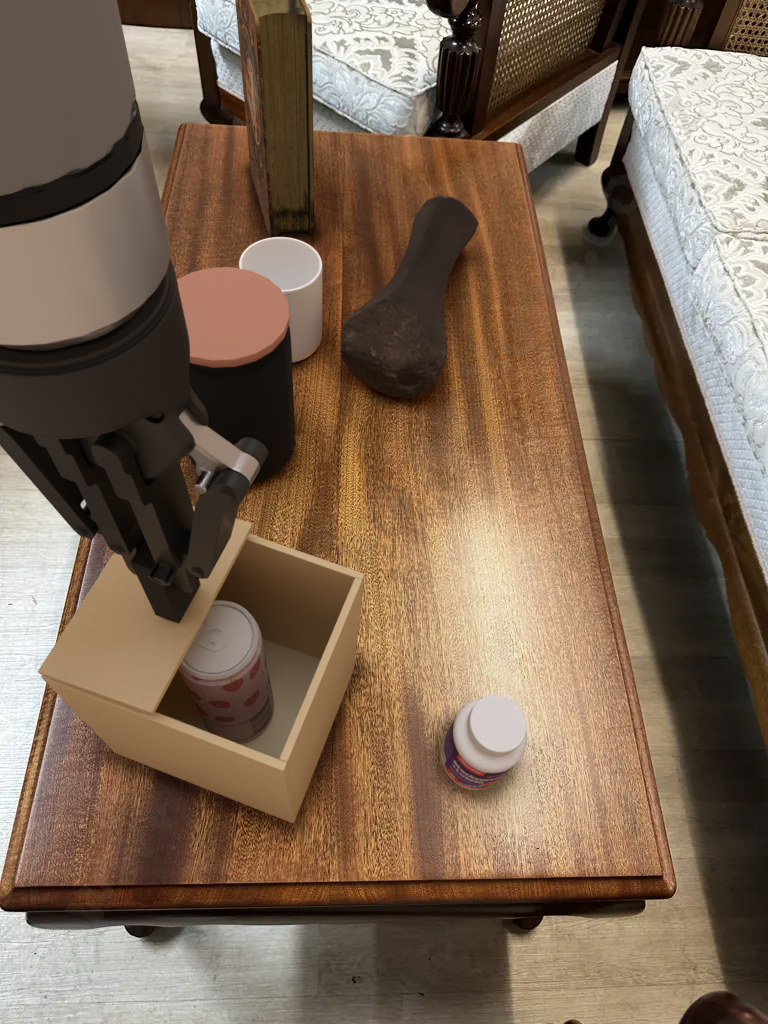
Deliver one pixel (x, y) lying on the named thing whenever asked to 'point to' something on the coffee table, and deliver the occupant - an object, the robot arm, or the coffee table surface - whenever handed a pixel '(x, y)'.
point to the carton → (293, 676)
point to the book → (279, 109)
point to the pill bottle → (484, 742)
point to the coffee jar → (242, 359)
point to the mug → (292, 286)
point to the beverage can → (229, 674)
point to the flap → (132, 634)
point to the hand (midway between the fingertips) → (178, 599)
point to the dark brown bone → (410, 307)
